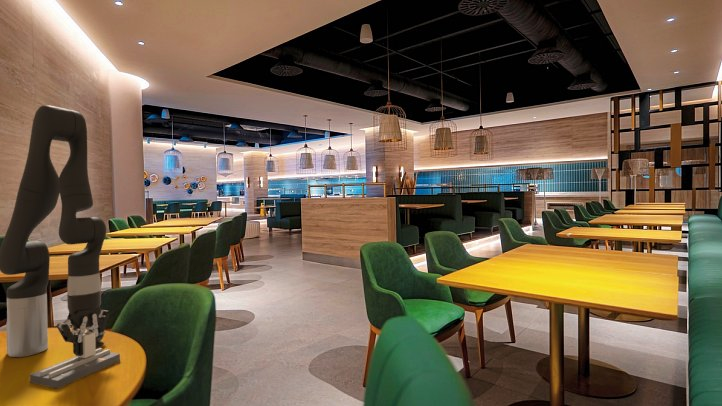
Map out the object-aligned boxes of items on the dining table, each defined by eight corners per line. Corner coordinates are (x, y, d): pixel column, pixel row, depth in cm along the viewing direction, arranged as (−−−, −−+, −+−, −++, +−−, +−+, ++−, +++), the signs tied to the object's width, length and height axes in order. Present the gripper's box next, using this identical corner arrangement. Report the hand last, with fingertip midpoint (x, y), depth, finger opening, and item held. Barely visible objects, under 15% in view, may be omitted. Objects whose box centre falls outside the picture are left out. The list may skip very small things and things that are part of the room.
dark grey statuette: (93, 349, 121) (93, 310, 121) (77, 348, 122) (77, 309, 122) (109, 342, 127) (109, 305, 127) (94, 341, 128) (93, 304, 128)
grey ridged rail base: (29, 382, 100) (29, 370, 100) (94, 356, 116) (94, 345, 116) (57, 388, 97) (57, 376, 97) (119, 360, 113) (119, 350, 113)
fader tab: (75, 360, 108) (75, 334, 108) (86, 356, 111) (85, 330, 111) (85, 362, 107) (84, 335, 107) (95, 357, 110) (95, 332, 109)
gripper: (98, 283, 116) (99, 342, 117) (47, 295, 103) (48, 361, 103) (117, 285, 114) (118, 345, 114) (67, 298, 100) (68, 365, 101)
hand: (85, 352), depth 109 cm, fingers closed on fader tab, 3 cm apart
